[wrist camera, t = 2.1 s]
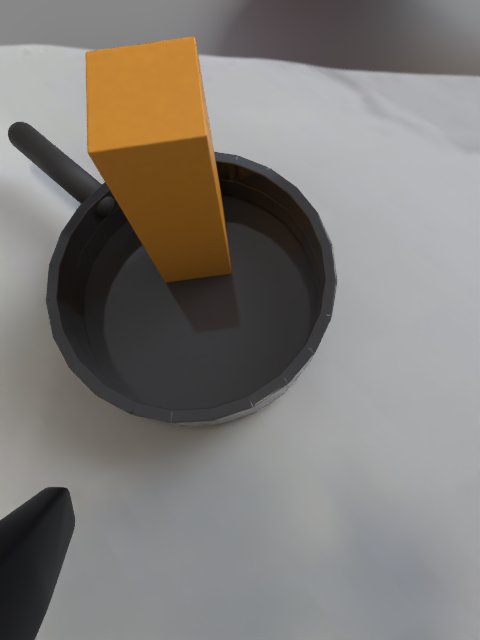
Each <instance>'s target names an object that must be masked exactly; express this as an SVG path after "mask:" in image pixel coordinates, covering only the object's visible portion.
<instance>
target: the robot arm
mask: <svg viewBox="0 0 480 640" xmlns="http://www.w3.org/2000/svg"><path fill="white" fill-rule="evenodd" d="M74 527H75V516H74V511H73V506H72V501H71V496H70V492H69V490H68V489H67V488H65V487H48V488H45V489H44V490H42V491H41V492H39V493H38V494H37V495H35V496H34V497H32V498H31V499H30V500H28V501H27V502H25V503H24V504H23V505H21V506H20V507H18V508H17V509H16V510H14V511H13V512H11V513H10V514H9V515H7V516H6V517H4V518H3V519H2V520H0V640H35V638H36V635H37V633H38V631H39V628H40V626H41V624H42V621H43V619H44V616H45V614H46V612H47V609H48V606H49V603H50V601H51V598H52V595H53V592H54V589H55V586H56V583H57V580H58V577H59V574H60V571H61V568H62V564H63V561H64V558H65V555H66V552H67V549H68V546H69V543H70V540H71V537H72V534H73V531H74Z"/></svg>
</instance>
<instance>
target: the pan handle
mask: <svg viewBox="0 0 480 640" xmlns="http://www.w3.org/2000/svg"><path fill="white" fill-rule="evenodd" d="M8 137H9V140H10V142H11V143H12V144H13V145H14V146H15V147H16V148H17V149H18V150H19V151H20V152H22V153H23V154H24V155H25V156H26V157H27V158H29V159H30V160H31V161H32V162H33V163H34V164H36V165H37V166H38V167H39V168H40V169H41V170H42V171H44V172H45V173H46V174H47V175H48V176H49V177H51V178H52V179H53V180H54V181H55V182H56V183H58V184H59V185H60V186H61V187H62V188H63V189H65V190H66V191H67V192H68V193H69V194H70V195H72V196H73V197H74V198H75V199H76V200H77V201H79V202H80V203H81V204H82V203H83V202H84V201H85V200H86V199H87V198H88V197H89V196H90V195H92V194H93V193H94V192H95V191H96V190H97V189H98V188H99V187H100V186H101V185H102V184H100V183H99V182H98V181H97V180H96V179H94V178H93V177H92V176H91V175H90V174H88V173H87V172H86V171H85V170H84V169H82V168H81V167H80V166H79V165H78V164H76V163H75V162H74V161H73V160H72V159H70V158H69V157H68V156H67V155H65V154H64V153H63V152H62V151H61V150H59V149H58V148H57V147H56V146H55V145H53V144H52V143H51V142H50V141H49V140H47V139H46V138H45V137H44V136H43V135H41V134H40V133H39V132H38V131H37V130H35V129H34V128H33V127H32V126H30V125H29V124H27V123H24V122H16V123H14V124H12V125H11V126H10V128H9V130H8ZM113 207H114V199H113V198H112V197H106V198H104V199H102V200H101V201H100V203H99V204H98V206H97V213H98V214H99V215H101V216H104V215H107V214H109V213H110V212H111V211H112V210H113Z"/></svg>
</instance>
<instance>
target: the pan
mask: <svg viewBox="0 0 480 640" xmlns="http://www.w3.org/2000/svg"><path fill="white" fill-rule="evenodd" d="M214 154H215V161H216V167H217V173H218V179H219V185H220V191H221V197H222V203H223V209H224V217H225V224H226V232H227V240H228V248H229V255H230V263H231V271H232V273H231V274H226V275H218V276H211V277H203V278H196V279H189V280H181V281H174V282H167V283H166V282H165V281H164V279H163V278H162V276H161V274H160V273H159V271H158V269H157V268H156V266H155V264H154V263H153V261H152V259H151V258H150V256H149V254H148V253H147V251H146V249H145V248H144V246H143V244H142V243H141V241H140V239H139V238H138V236H137V234H136V233H135V231H134V229H133V228H132V226H131V224H130V223H129V221H128V219H127V218H126V216H125V214H124V213H123V211H122V209H121V207H120V206H119V204H118V202H117V201H116V199H115V197H114V196H113V194H112V192H111V191H110V189H109V187H108V186H107V184H106V182H105V183H104V184H102V185H101V186H100V187H99V188H98V189H97V190H96V191H95V192H94V193H93V194H92V195H90V196H89V197H88V198H87V199H86V200H85V201H84V202H83V203H82V204H81V205H80V206H79V207H78V209H77V210H76V212H75V213H74V215H73V216H72V218H71V219H70V220H69V222H68V223H67V225H66V226H65V228H64V229H63V231H62V232H61V234H60V237H59V240H58V242H57V245H56V248H55V251H54V253H53V256H52V259H51V261H50V264H49V272H48V283H47V295H46V304H47V309H48V314H49V319H50V324H51V329H52V335H53V338H54V340H55V342H56V344H57V345H58V347H59V349H60V351H61V353H62V355H63V357H64V359H65V361H66V363H67V364H68V366H69V368H70V369H71V370H72V371H73V372H74V373H75V374H76V376H77V377H78V378H79V379H80V380H81V381H82V382H83V383H84V384H85V385H86V386H87V387H88V388H89V389H90V390H91V391H92V392H93V393H94V394H95V395H97V396H98V397H100V398H102V399H104V400H105V401H107V402H109V403H111V404H113V405H115V406H116V407H118V408H120V409H122V410H124V411H126V412H128V413H129V414H132V415H135V416H140V417H144V418H148V419H153V420H157V421H162V422H166V423H171V424H176V425H180V426H205V425H215V424H222V423H225V422H228V421H232V420H236V419H239V418H241V417H244V416H246V415H249V414H252V413H254V412H256V411H258V410H259V409H261V408H262V407H264V406H266V405H268V404H269V403H271V402H272V401H273V400H275V399H276V398H277V397H279V396H280V395H282V394H283V393H284V392H285V391H286V390H287V389H288V388H289V387H290V386H291V385H292V384H293V383H294V382H295V380H296V379H297V378H298V377H299V375H300V374H301V373H302V372H303V371H304V370H305V368H306V367H307V366H308V364H309V363H310V361H311V359H312V357H313V356H314V354H315V352H316V350H317V348H318V346H319V344H320V342H321V339H322V337H323V335H324V333H325V331H326V329H327V326H328V324H329V322H330V320H331V317H332V312H333V305H334V299H335V292H336V286H337V276H336V268H335V261H334V253H333V247H332V243H331V241H330V239H329V237H328V234H327V232H326V230H325V228H324V225H323V223H322V221H321V218H320V216H319V215H318V213H317V211H316V210H315V209H314V208H313V206H312V205H311V204H310V203H309V202H308V200H307V199H306V198H305V197H304V195H303V194H302V193H301V192H300V191H299V189H298V188H297V187H296V186H294V185H293V184H291V183H290V182H289V181H287V180H286V179H284V178H283V177H282V176H280V175H279V174H277V173H276V172H275V171H273V170H272V169H270V168H268V167H266V166H263V165H261V164H258V163H255V162H253V161H250V160H248V159H245V158H243V157H240V156H237V155H231V154H224V153H218V152H214ZM106 197H112V198H113V199H114V207H113V210H112V211H111V212H110V213H109V214H107V215H104V216H101V215H99V214H98V213H97V206H98V204H99V203H100V201H101V200H102V199H104V198H106Z"/></svg>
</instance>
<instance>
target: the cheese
mask: <svg viewBox="0 0 480 640" xmlns="http://www.w3.org/2000/svg"><path fill="white" fill-rule="evenodd" d="M86 93H87V145H88V154H89V156H90V157H91V159H92V161H93V162H94V164H95V166H96V167H97V169H98V171H99V172H100V174H101V176H102V177H103V179H104V181H105V182H106V184H107V186H108V187H109V189H110V191H111V192H112V194H113V196H114V197H115V199H116V201H117V202H118V204H119V206H120V207H121V209H122V211H123V213H124V214H125V216H126V218H127V219H128V221H129V223H130V224H131V226H132V228H133V229H134V231H135V233H136V234H137V236H138V238H139V239H140V241H141V243H142V244H143V246H144V248H145V249H146V251H147V253H148V254H149V256H150V258H151V259H152V261H153V263H154V264H155V266H156V268H157V269H158V271H159V273H160V274H161V276H162V278H163V279H164V281H165V282H166V283H167V282H174V281H181V280H189V279H196V278H203V277H211V276H218V275H226V274H231V273H232V271H231V263H230V255H229V248H228V240H227V232H226V224H225V217H224V209H223V203H222V197H221V191H220V185H219V179H218V173H217V167H216V161H215V154H214V148H213V142H212V136H211V130H210V124H209V118H208V112H207V106H206V100H205V94H204V88H203V82H202V76H201V70H200V64H199V57H198V51H197V46H196V40H195V37H187V38H180V39H173V40H166V41H159V42H153V43H145V44H138V45H131V46H124V47H117V48H111V49H103V50H96V51H90V52H86Z"/></svg>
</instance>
